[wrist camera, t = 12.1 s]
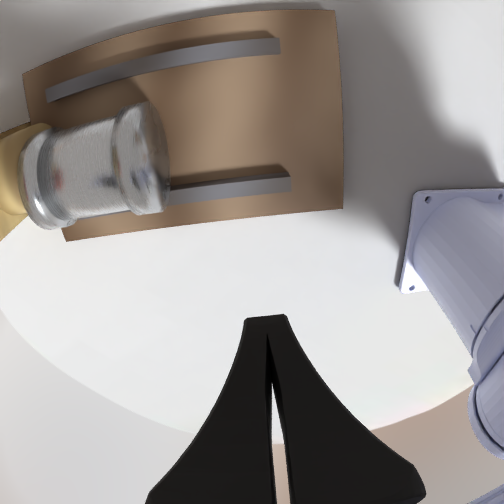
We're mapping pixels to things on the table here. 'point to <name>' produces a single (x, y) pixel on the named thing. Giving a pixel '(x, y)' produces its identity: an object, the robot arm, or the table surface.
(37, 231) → the table surface
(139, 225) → the slider rig
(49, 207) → the pipe coupling
